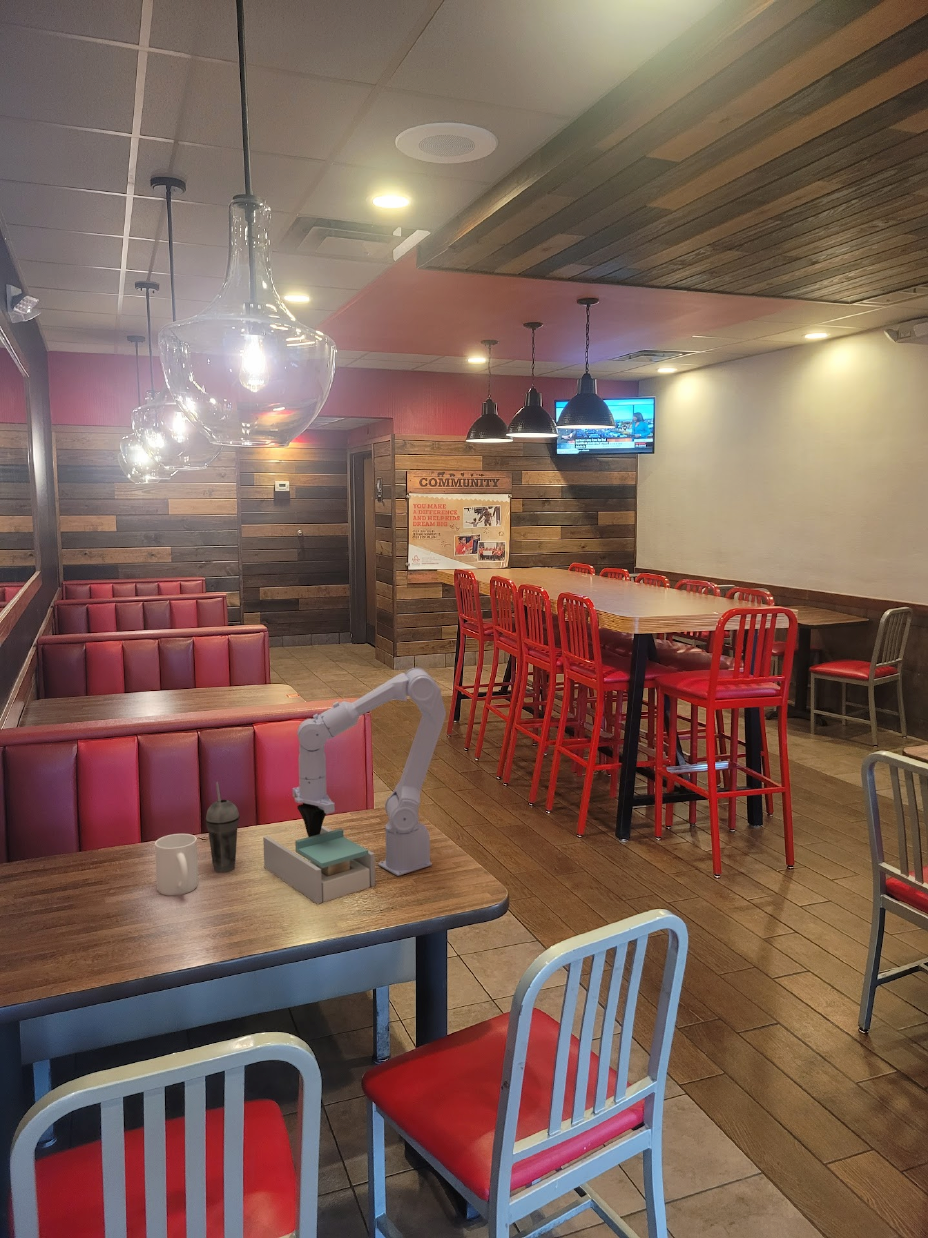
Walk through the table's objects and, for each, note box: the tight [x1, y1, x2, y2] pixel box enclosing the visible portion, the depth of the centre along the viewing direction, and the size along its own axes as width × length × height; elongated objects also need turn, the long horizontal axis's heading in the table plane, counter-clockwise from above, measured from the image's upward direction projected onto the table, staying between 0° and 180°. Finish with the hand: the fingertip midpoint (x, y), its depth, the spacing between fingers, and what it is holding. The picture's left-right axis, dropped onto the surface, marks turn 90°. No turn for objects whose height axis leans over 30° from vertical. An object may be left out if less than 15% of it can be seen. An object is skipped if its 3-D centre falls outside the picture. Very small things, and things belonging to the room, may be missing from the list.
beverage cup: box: [204, 781, 240, 874], centre depth 189 cm, size 7×7×20 cm
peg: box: [317, 860, 350, 877], centre depth 181 cm, size 5×5×6 cm
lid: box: [294, 828, 369, 868], centre depth 181 cm, size 11×11×2 cm
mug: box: [154, 833, 199, 897], centre depth 179 cm, size 12×8×10 cm
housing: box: [263, 824, 376, 905], centre depth 186 cm, size 14×24×7 cm, turn 39°
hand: (313, 836), depth 187 cm, fingers closed
